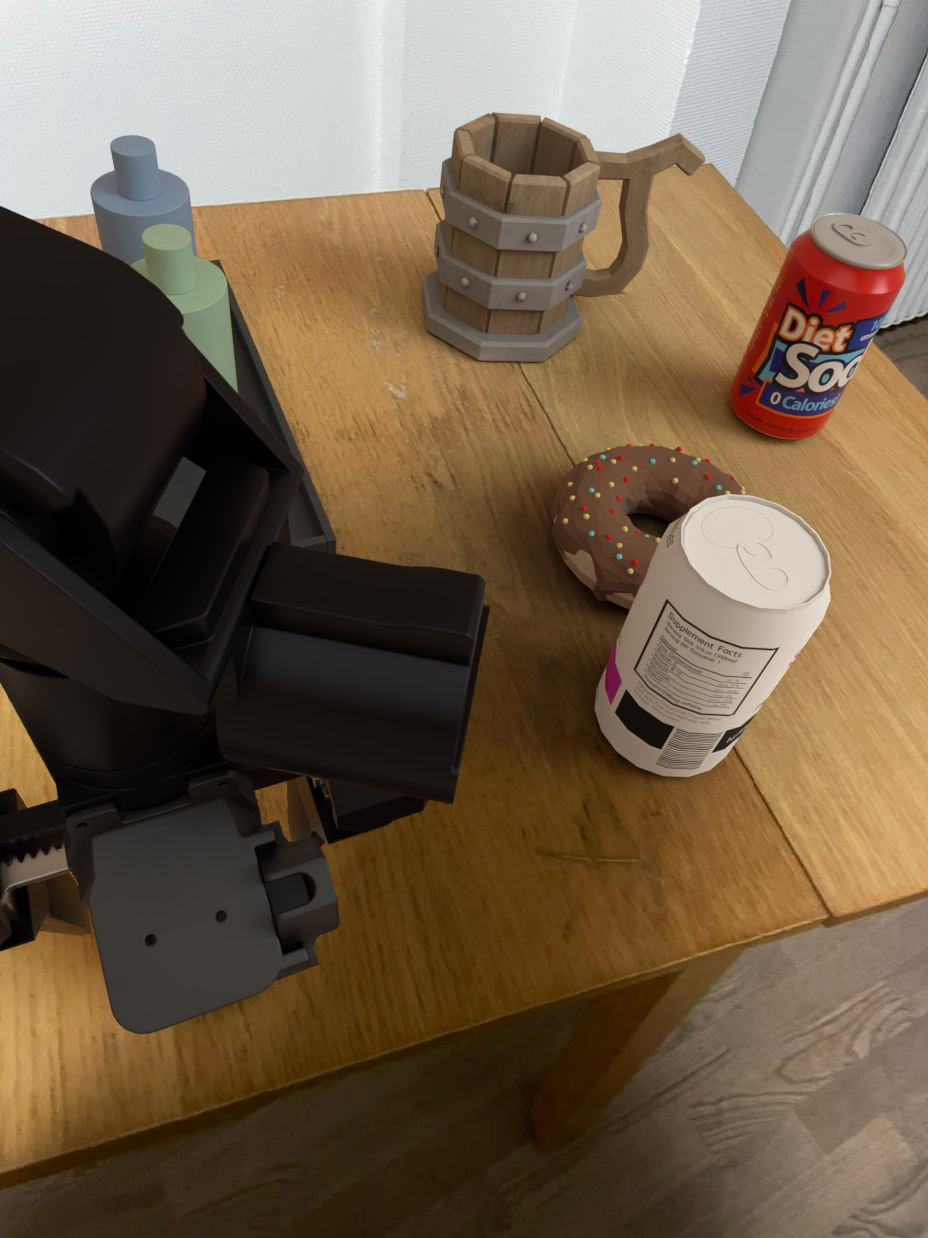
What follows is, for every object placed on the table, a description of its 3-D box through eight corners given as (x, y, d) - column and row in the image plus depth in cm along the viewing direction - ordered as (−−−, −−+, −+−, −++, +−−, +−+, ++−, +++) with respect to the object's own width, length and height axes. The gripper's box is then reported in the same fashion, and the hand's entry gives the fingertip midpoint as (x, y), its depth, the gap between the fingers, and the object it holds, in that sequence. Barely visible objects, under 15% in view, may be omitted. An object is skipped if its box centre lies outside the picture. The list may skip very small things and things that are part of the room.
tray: (154, 601, 54) (149, 579, 52) (76, 299, 70) (71, 274, 69) (336, 561, 57) (336, 539, 56) (222, 282, 74) (219, 258, 72)
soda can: (773, 372, 75) (855, 197, 64) (842, 430, 72) (943, 255, 60) (704, 398, 72) (777, 218, 60) (772, 459, 69) (864, 281, 57)
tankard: (431, 361, 71) (452, 170, 59) (416, 269, 78) (431, 83, 67) (673, 366, 74) (739, 186, 63) (636, 277, 82) (688, 102, 70)
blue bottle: (125, 349, 67) (88, 173, 56) (110, 298, 70) (73, 124, 60) (213, 337, 69) (193, 165, 58) (194, 289, 72) (172, 118, 62)
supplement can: (569, 680, 54) (636, 502, 42) (687, 649, 56) (782, 472, 45) (630, 800, 50) (724, 638, 38) (756, 760, 52) (881, 597, 40)
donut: (640, 667, 55) (664, 617, 51) (505, 523, 61) (518, 468, 57) (793, 576, 61) (825, 526, 57) (657, 453, 67) (677, 400, 63)
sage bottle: (154, 448, 61) (119, 272, 51) (136, 388, 64) (100, 212, 54) (249, 432, 63) (234, 260, 53) (227, 375, 66) (209, 202, 56)
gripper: (-261, 1096, 20) (-25, 1185, 32) (522, 827, 25) (467, 991, 37) (-238, 686, 26) (-47, 894, 38) (390, 543, 31) (379, 764, 43)
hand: (196, 887), depth 39 cm, fingers open, 9 cm apart
